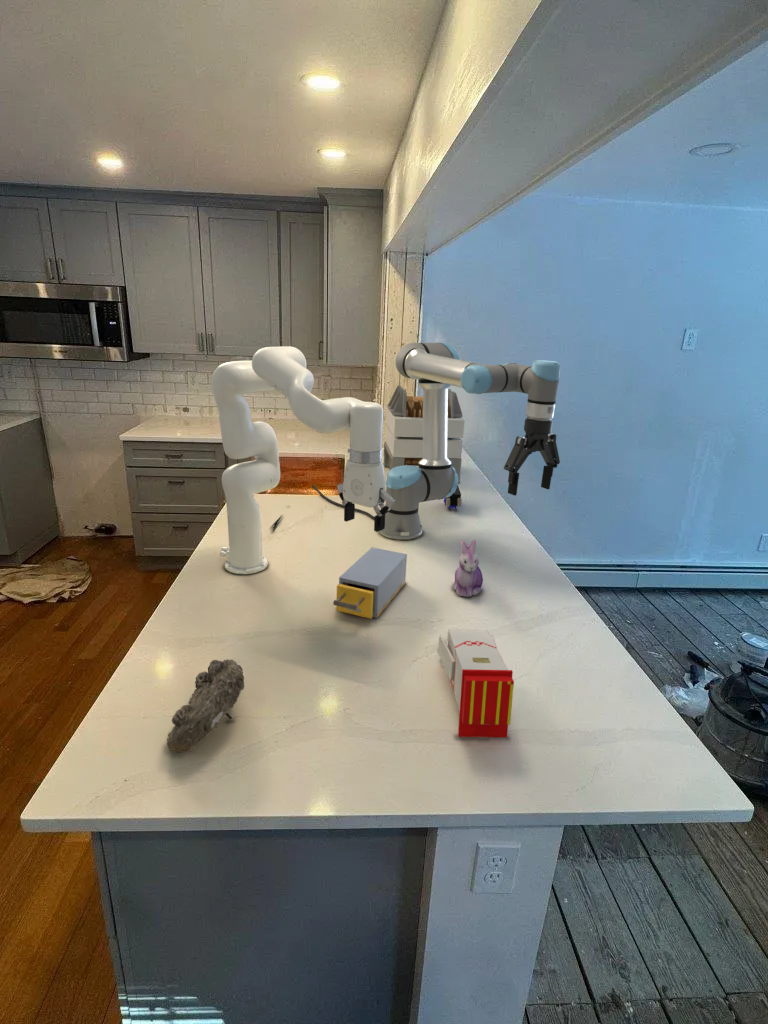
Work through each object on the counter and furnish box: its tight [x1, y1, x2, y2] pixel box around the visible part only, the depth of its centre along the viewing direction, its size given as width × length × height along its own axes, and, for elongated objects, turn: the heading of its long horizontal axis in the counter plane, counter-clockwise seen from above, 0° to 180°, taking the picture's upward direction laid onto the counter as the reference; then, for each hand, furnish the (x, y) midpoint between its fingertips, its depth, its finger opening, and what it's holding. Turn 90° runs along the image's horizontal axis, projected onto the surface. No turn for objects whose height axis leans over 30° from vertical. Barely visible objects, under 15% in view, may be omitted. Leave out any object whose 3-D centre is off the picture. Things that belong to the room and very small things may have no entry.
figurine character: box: [443, 485, 463, 511], centre depth 229 cm, size 7×8×15 cm
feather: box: [268, 514, 283, 532], centre depth 208 cm, size 2×28×2 cm
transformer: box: [382, 384, 465, 484], centre depth 268 cm, size 34×33×41 cm
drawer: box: [332, 582, 374, 620], centre depth 150 cm, size 26×10×7 cm, turn 158°
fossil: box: [166, 658, 245, 754], centre depth 106 cm, size 22×10×15 cm
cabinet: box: [338, 546, 408, 619], centre depth 155 cm, size 22×11×9 cm, turn 158°
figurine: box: [453, 539, 484, 598], centre depth 159 cm, size 9×10×15 cm
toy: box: [437, 628, 515, 738], centre depth 117 cm, size 12×13×30 cm
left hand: (364, 525), depth 137 cm, fingers open, 9 cm apart
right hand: (528, 491), depth 164 cm, fingers open, 13 cm apart
